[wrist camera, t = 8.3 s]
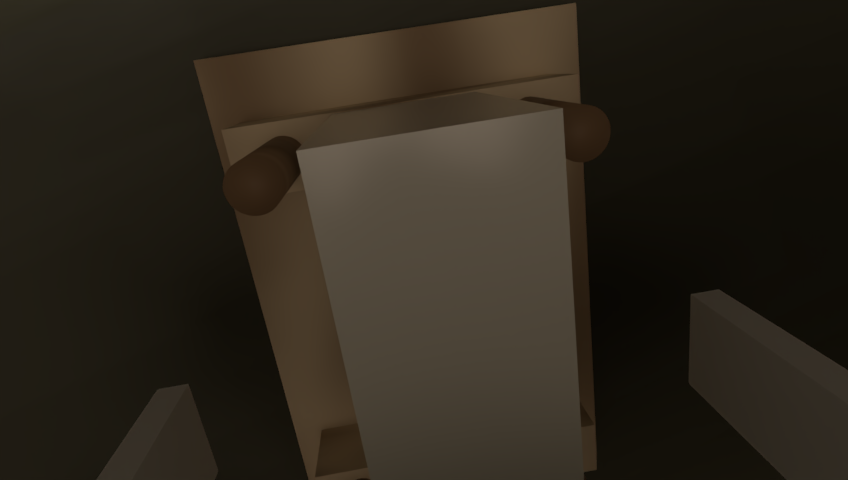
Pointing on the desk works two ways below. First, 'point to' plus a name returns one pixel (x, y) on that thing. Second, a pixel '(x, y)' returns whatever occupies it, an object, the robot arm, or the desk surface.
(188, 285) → the desk surface
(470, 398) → the grey rectangular block
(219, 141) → the rack
